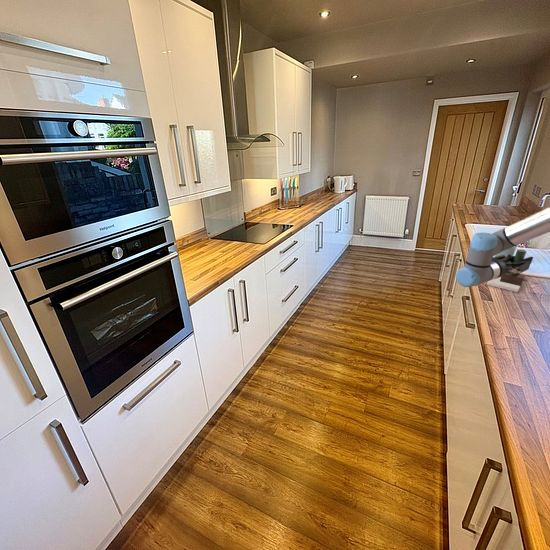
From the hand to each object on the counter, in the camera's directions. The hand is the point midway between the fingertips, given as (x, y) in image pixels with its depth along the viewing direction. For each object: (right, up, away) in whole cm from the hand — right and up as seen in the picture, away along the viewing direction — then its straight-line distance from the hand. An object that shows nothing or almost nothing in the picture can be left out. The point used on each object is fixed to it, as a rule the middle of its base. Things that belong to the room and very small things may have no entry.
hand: (525, 258), depth 120 cm
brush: (-5, -10, +2) cm, 11 cm away
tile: (+8, -9, +21) cm, 25 cm away
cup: (+21, 0, +40) cm, 45 cm away
